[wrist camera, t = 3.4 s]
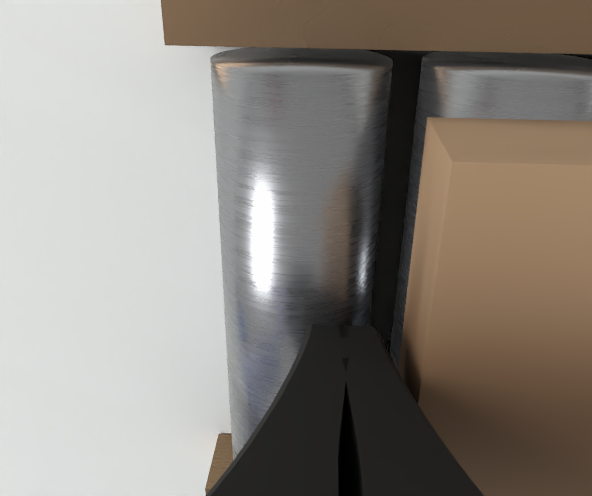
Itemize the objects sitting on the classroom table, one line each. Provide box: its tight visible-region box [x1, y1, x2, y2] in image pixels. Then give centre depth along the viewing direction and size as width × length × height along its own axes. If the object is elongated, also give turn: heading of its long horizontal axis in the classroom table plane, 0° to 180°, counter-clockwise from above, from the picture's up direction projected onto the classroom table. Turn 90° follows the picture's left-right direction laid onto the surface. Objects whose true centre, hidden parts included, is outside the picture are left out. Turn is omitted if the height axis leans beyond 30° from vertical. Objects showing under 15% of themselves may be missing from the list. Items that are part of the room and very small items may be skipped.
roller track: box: [161, 0, 592, 495], centre depth 11 cm, size 12×15×3 cm
